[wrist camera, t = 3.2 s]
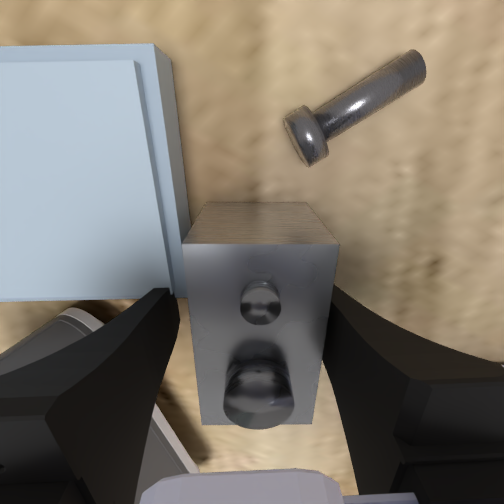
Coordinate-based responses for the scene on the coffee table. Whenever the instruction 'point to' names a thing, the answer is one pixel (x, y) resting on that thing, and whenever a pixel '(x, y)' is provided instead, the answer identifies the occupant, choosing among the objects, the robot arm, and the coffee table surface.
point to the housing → (258, 310)
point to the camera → (160, 433)
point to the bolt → (352, 106)
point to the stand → (90, 174)
